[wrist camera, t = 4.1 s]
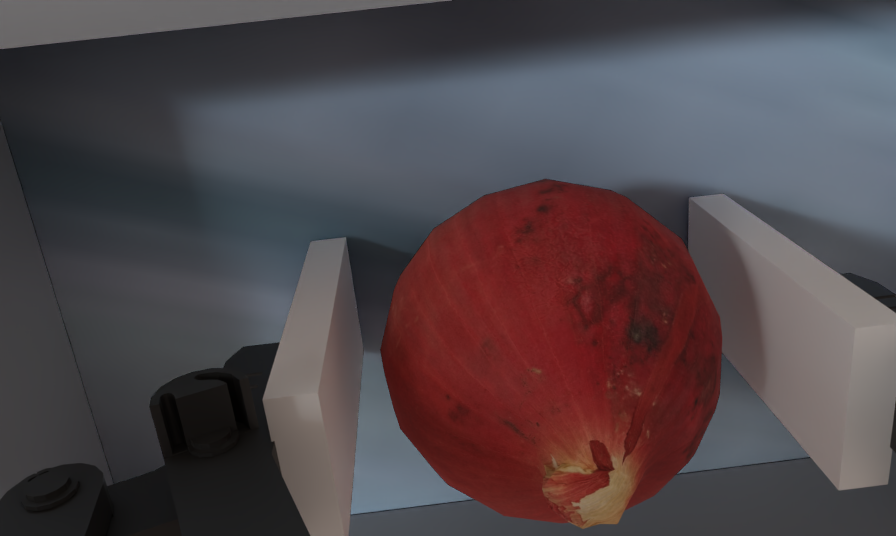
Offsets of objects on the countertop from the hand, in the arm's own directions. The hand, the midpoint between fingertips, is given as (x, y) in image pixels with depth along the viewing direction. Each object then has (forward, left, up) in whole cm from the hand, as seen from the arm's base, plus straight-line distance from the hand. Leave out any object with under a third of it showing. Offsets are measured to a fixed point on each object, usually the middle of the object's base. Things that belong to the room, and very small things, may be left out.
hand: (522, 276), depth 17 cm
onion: (0, 0, 0) cm, 0 cm away
